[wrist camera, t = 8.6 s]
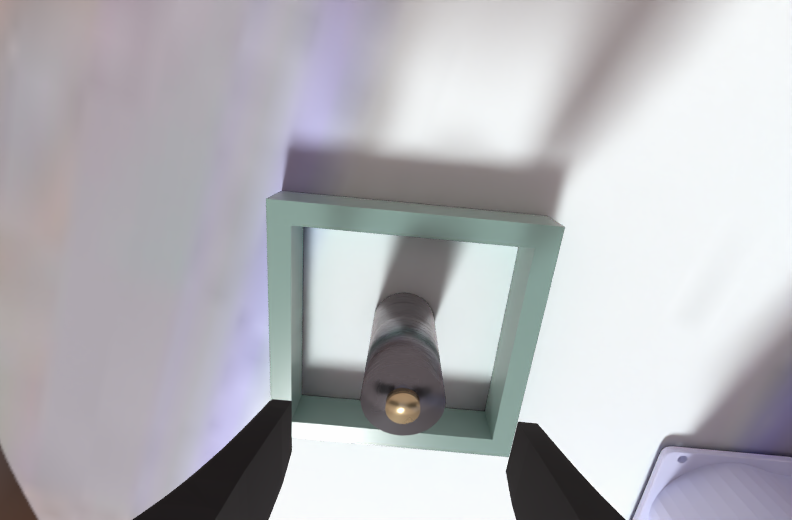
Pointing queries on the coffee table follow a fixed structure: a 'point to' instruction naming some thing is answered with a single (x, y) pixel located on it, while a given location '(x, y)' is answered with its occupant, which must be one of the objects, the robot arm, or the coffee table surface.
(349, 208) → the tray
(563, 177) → the coffee table surface
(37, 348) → the coffee table surface
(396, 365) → the cell
